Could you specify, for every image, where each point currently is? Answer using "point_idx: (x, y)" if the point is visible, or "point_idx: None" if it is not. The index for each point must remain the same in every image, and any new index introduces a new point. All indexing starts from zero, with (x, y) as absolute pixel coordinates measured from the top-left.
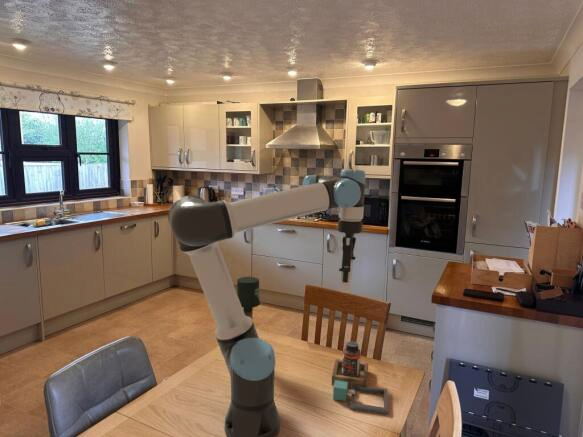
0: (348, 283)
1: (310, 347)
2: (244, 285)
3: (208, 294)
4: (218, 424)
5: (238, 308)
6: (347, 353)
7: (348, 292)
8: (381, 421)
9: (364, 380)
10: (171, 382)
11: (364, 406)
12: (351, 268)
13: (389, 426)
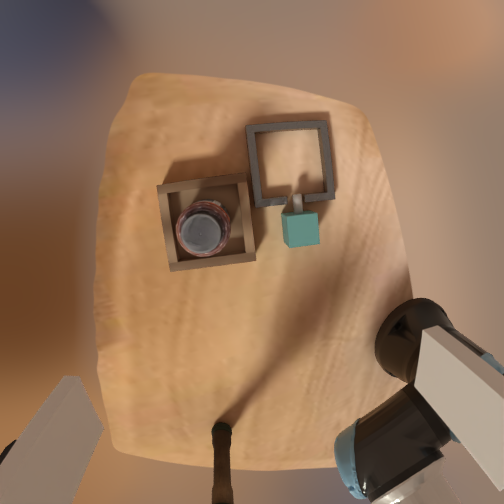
0: (480, 368)
1: (114, 340)
2: None
3: None
4: None
5: (448, 502)
6: (226, 239)
7: (438, 330)
8: (347, 133)
9: (246, 179)
10: (328, 465)
11: (331, 168)
12: (40, 451)
13: (355, 119)
